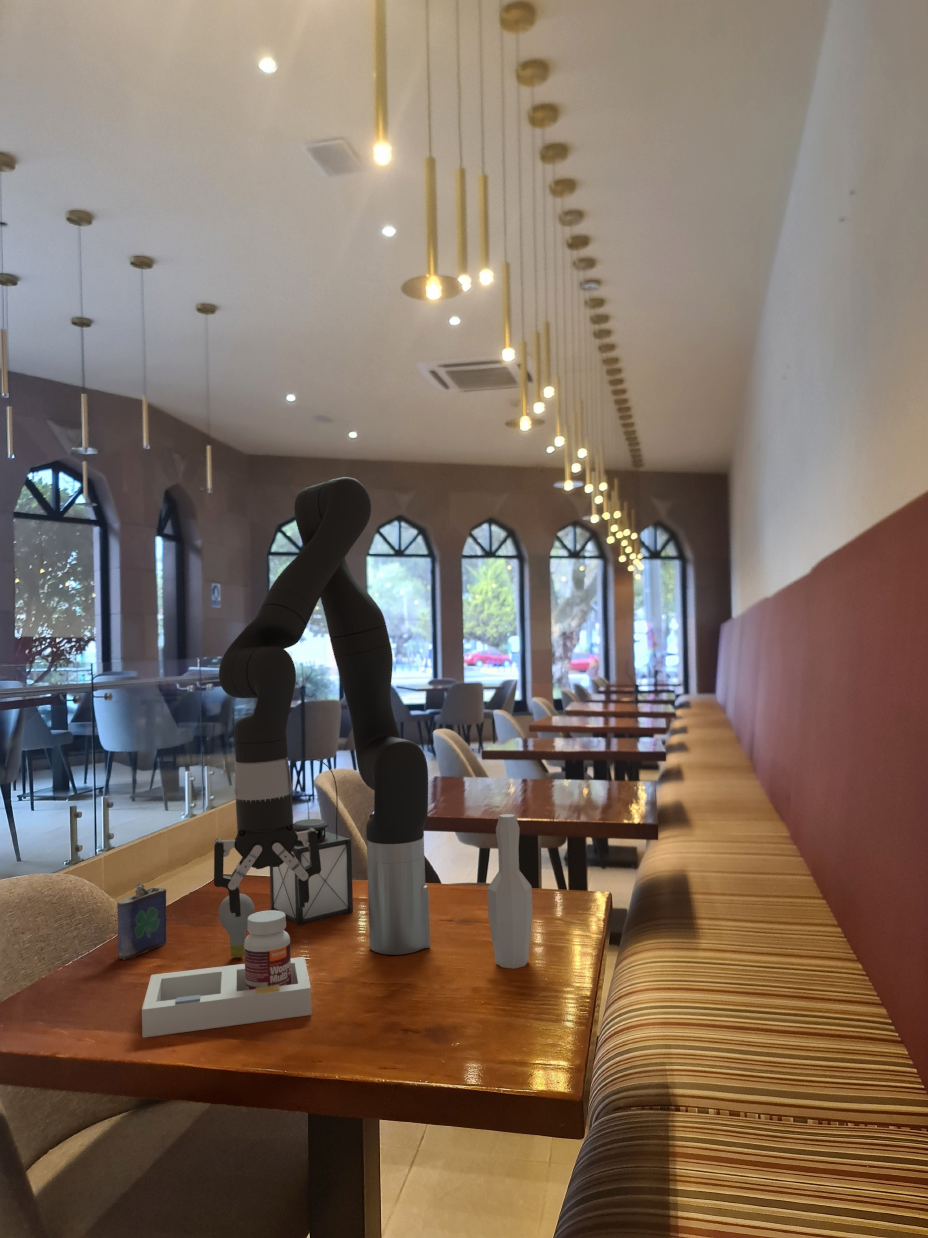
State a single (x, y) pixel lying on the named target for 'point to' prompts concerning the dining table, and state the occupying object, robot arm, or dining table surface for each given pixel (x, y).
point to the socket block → (220, 999)
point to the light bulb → (236, 923)
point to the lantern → (316, 876)
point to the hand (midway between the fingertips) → (270, 911)
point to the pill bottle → (267, 950)
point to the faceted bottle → (510, 900)
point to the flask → (141, 922)
